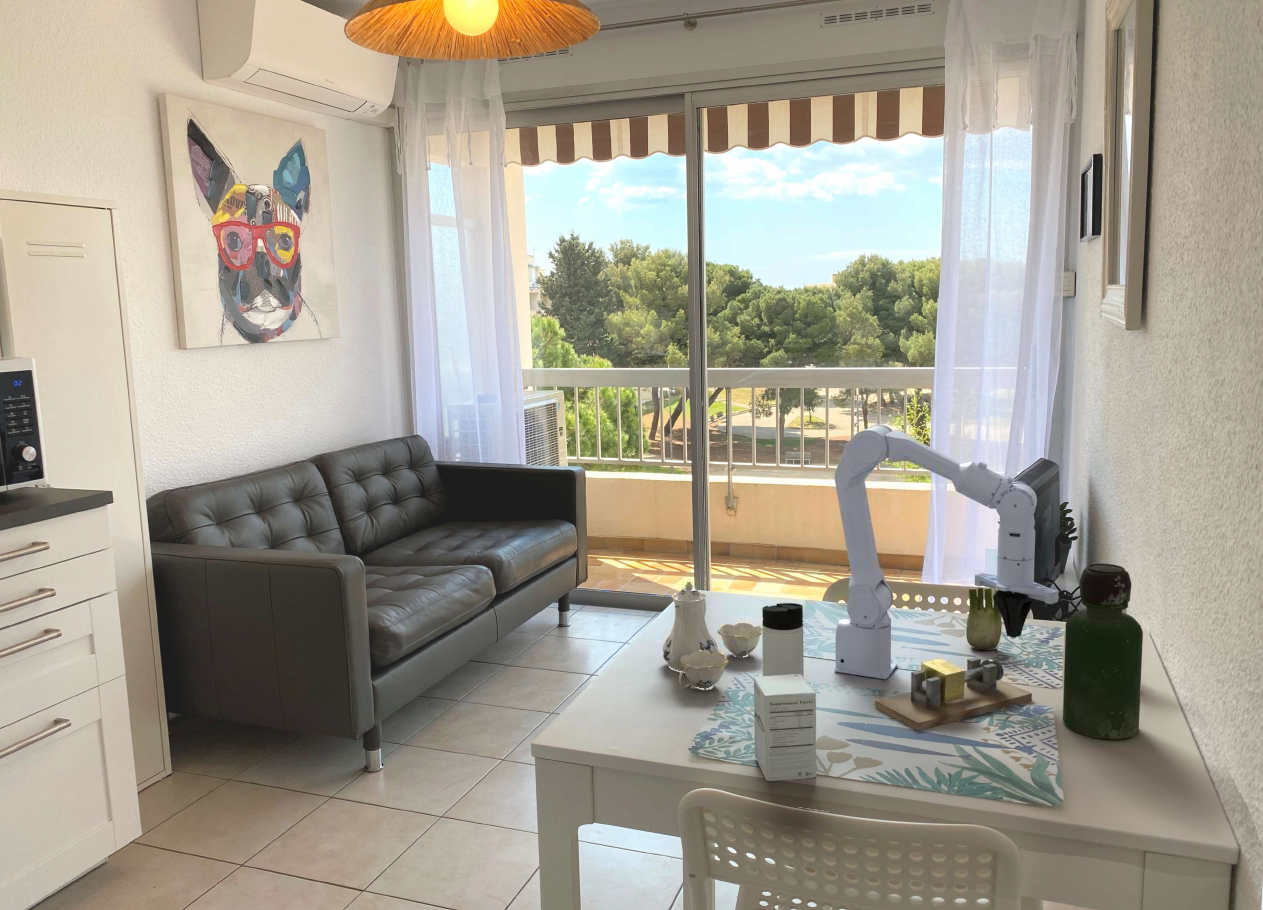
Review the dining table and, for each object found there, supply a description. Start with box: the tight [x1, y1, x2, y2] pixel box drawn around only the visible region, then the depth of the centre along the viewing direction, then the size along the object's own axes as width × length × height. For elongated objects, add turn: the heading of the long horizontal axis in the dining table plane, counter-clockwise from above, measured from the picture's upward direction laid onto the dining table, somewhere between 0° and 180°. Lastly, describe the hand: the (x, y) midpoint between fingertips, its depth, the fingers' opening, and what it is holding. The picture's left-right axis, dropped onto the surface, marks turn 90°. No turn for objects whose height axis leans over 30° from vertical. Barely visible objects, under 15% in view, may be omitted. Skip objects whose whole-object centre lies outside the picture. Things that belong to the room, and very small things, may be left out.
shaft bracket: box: [874, 657, 1033, 731], centre depth 155 cm, size 24×10×6 cm, turn 115°
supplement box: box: [753, 674, 817, 782], centre depth 134 cm, size 7×7×13 cm
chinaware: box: [662, 580, 763, 690], centre depth 174 cm, size 28×17×17 cm, turn 158°
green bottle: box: [1062, 563, 1144, 740], centre depth 144 cm, size 10×10×25 cm
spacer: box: [920, 658, 966, 703], centre depth 154 cm, size 4×6×5 cm
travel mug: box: [761, 602, 805, 678], centre depth 148 cm, size 6×7×20 cm
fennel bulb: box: [965, 586, 1003, 651], centre depth 180 cm, size 6×5×12 cm
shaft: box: [919, 658, 1004, 693], centre depth 156 cm, size 16×4×4 cm, turn 115°
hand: (1013, 635), depth 160 cm, fingers closed
